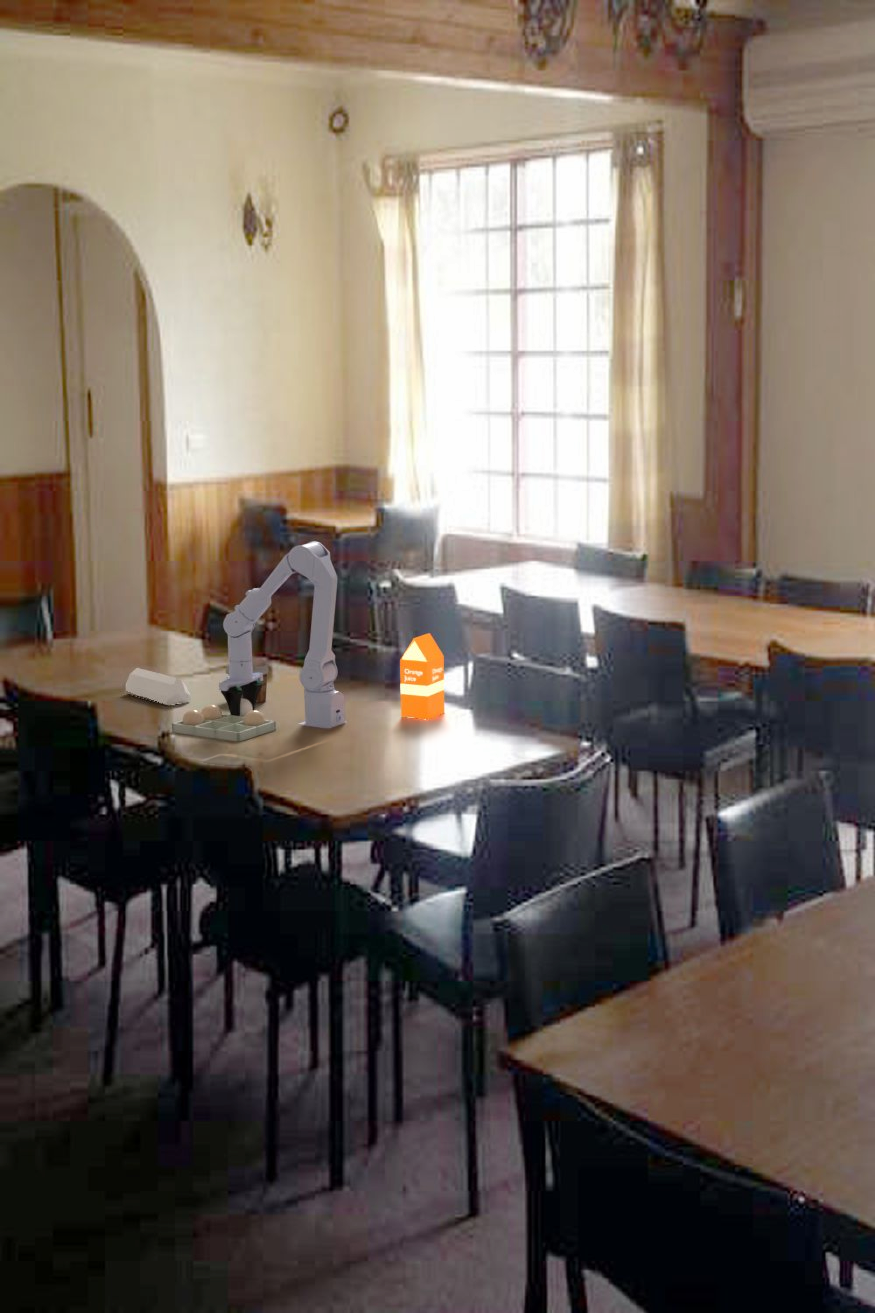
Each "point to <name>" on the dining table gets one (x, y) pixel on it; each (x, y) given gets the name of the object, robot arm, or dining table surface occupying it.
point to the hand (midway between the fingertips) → (242, 714)
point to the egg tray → (225, 728)
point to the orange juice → (422, 679)
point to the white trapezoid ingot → (157, 687)
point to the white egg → (245, 707)
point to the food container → (262, 693)
